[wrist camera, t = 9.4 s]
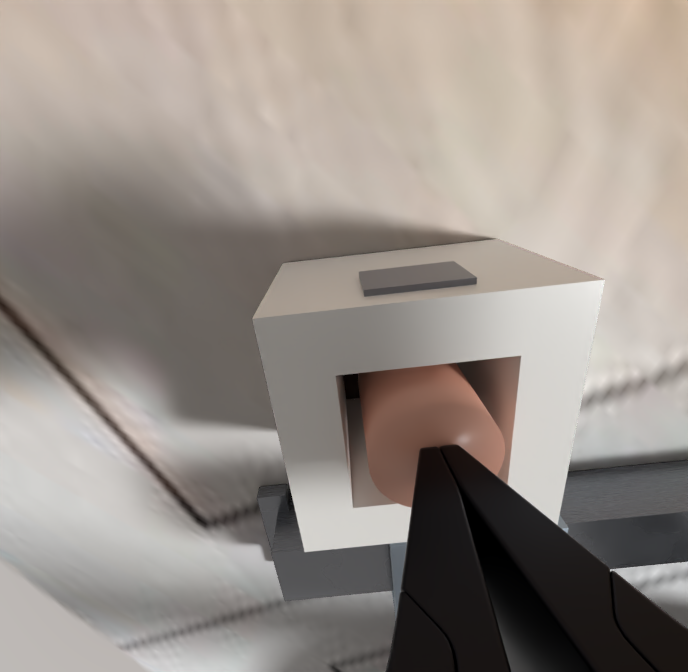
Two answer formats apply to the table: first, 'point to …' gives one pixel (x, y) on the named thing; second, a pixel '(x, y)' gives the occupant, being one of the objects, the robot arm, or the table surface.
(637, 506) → the rail
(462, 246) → the white button housing
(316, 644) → the table surface
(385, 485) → the button
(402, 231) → the table surface
